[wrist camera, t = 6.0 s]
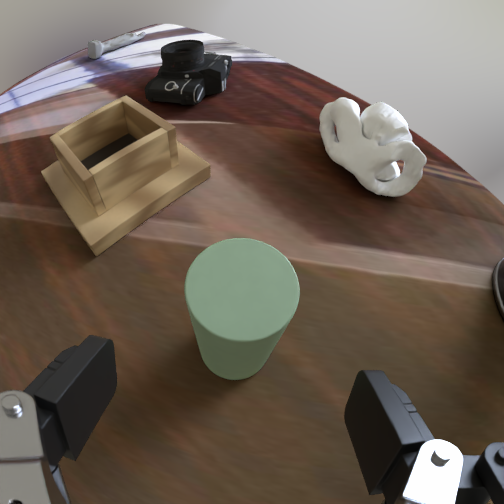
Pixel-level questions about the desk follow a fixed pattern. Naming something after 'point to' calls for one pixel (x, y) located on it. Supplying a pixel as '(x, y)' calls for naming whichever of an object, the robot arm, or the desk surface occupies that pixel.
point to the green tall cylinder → (240, 304)
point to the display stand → (119, 170)
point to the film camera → (188, 74)
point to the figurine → (111, 44)
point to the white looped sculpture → (372, 146)
